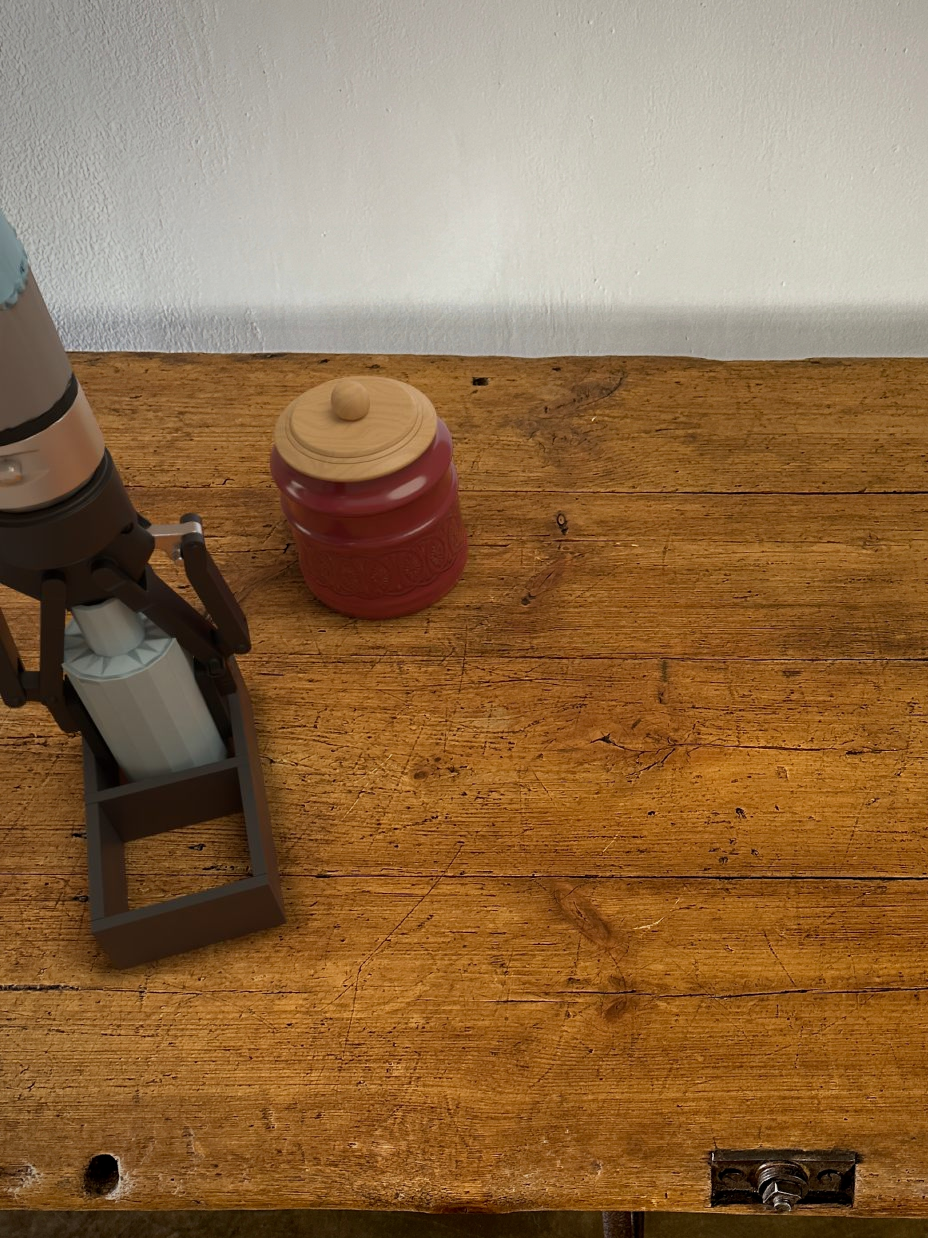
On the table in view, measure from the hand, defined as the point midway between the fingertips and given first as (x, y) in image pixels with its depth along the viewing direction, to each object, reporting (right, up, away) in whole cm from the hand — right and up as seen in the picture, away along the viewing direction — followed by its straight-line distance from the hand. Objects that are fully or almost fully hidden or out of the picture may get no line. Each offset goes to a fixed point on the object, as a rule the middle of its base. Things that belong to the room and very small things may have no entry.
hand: (168, 736), depth 80 cm
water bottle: (0, -1, +2) cm, 2 cm away
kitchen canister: (+11, +12, +16) cm, 23 cm away
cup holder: (+1, -6, +1) cm, 6 cm away
